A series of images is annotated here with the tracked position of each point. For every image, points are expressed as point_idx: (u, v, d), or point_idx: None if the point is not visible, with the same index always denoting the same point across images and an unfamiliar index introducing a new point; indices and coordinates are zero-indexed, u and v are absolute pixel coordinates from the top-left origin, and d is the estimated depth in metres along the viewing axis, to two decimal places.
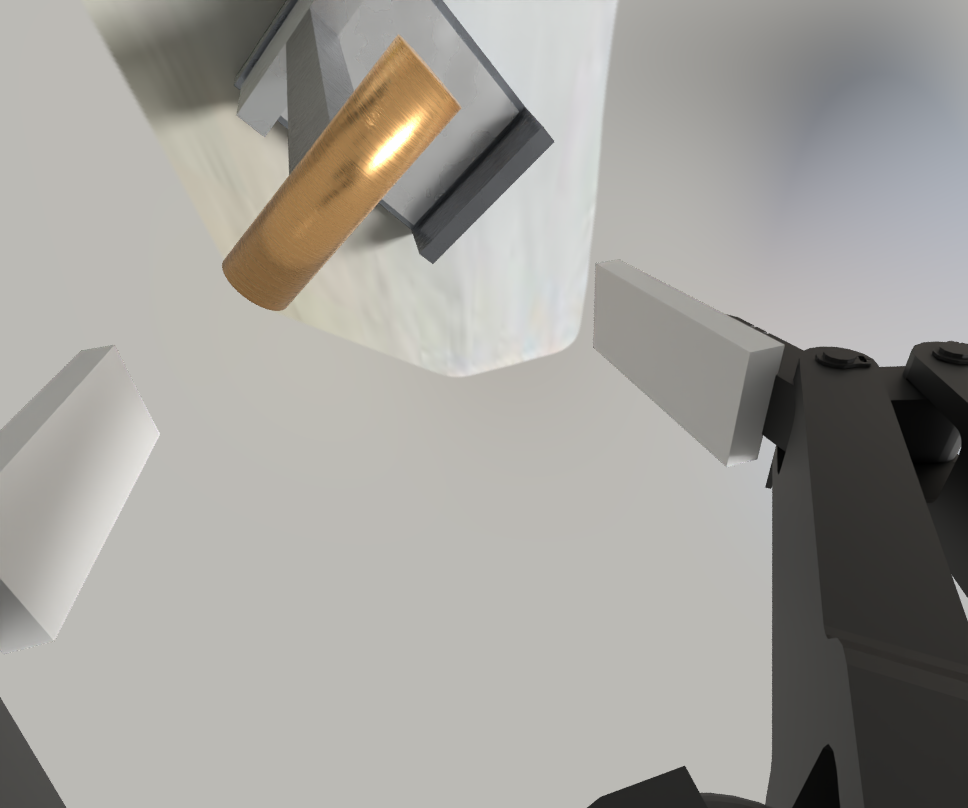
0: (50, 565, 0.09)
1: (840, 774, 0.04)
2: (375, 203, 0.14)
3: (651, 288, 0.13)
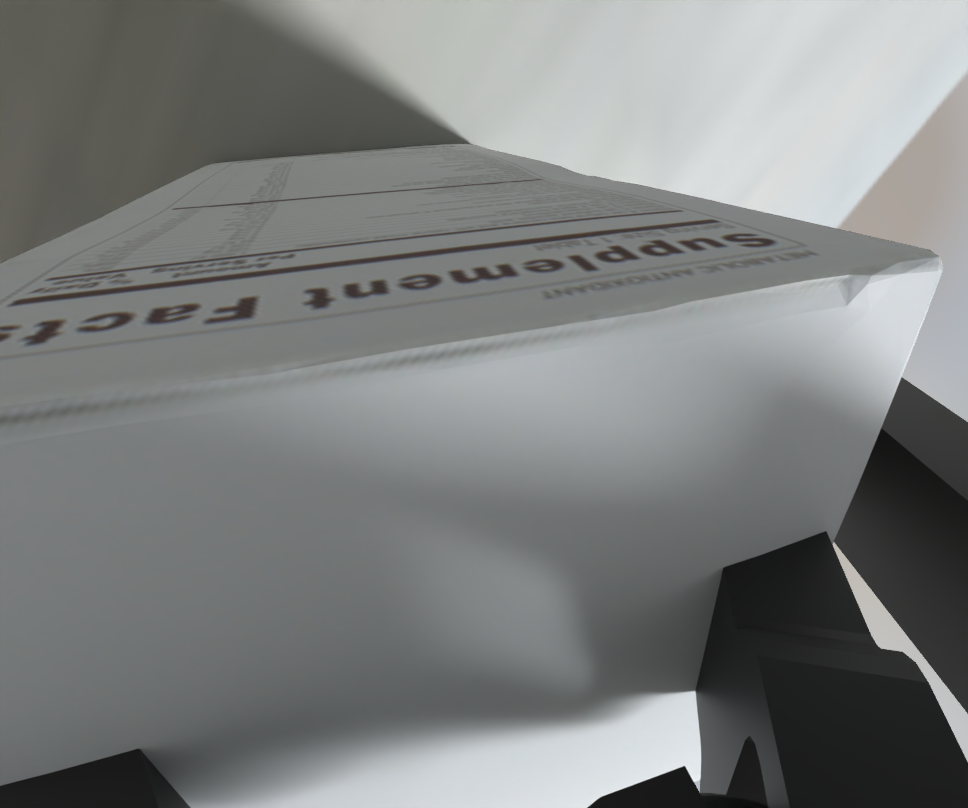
0: None
1: (764, 769, 0.04)
2: None
3: None
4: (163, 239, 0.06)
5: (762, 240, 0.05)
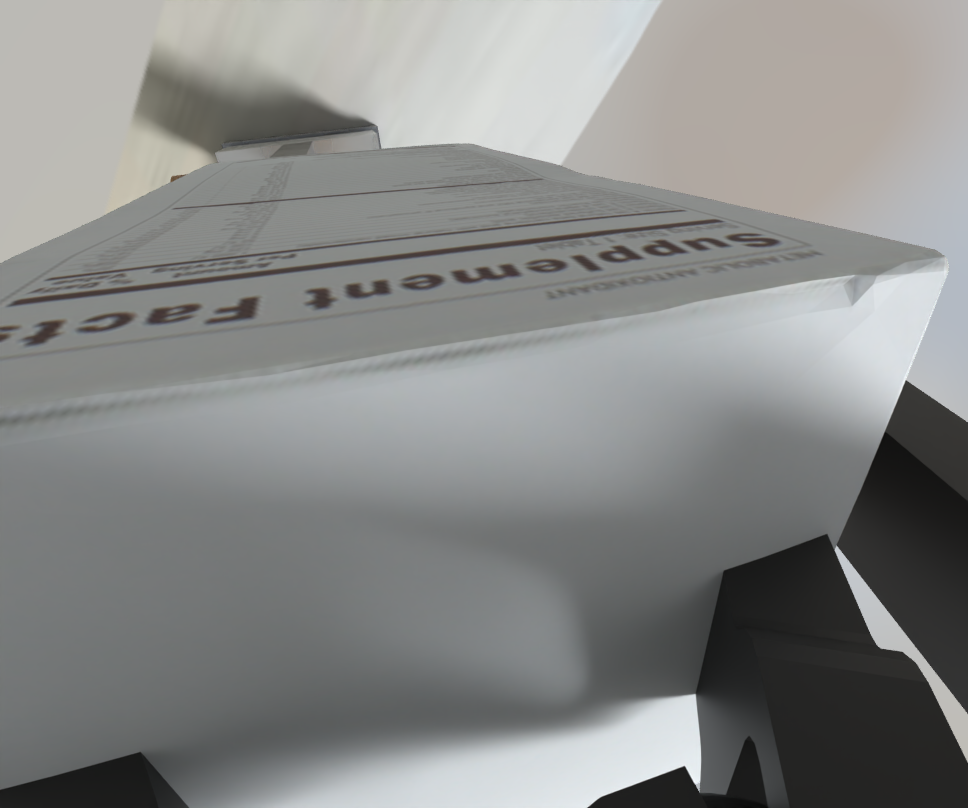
0: None
1: (764, 769, 0.04)
2: None
3: None
4: (163, 239, 0.06)
5: (766, 240, 0.05)
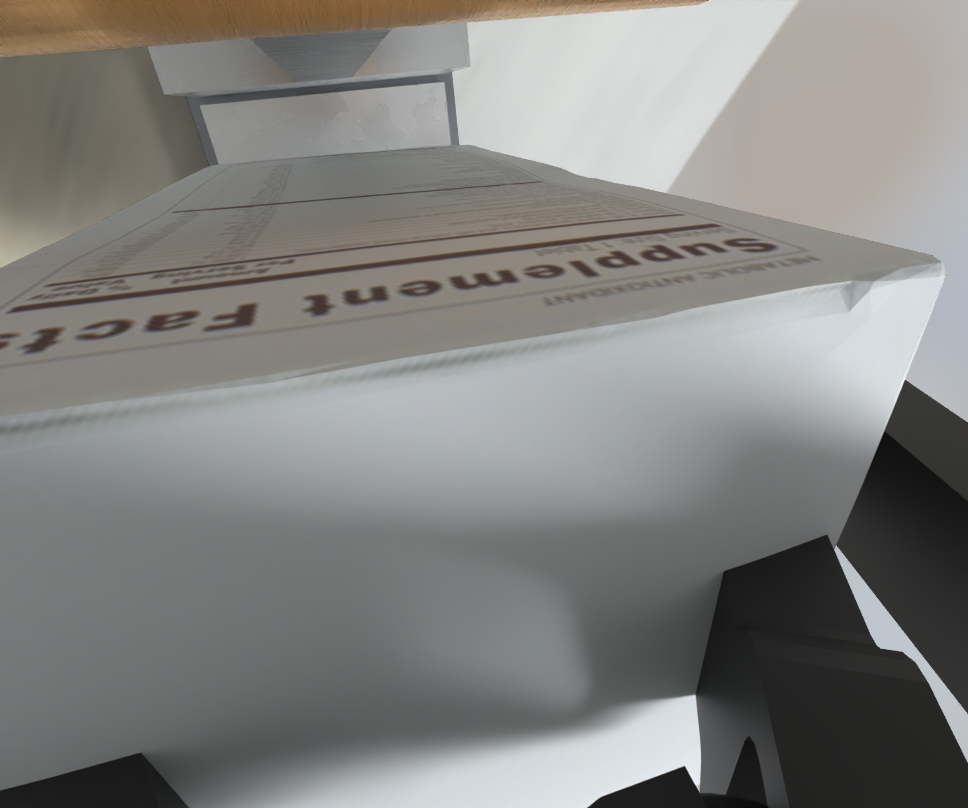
0: None
1: (764, 768, 0.04)
2: None
3: None
4: (163, 243, 0.06)
5: (764, 245, 0.05)
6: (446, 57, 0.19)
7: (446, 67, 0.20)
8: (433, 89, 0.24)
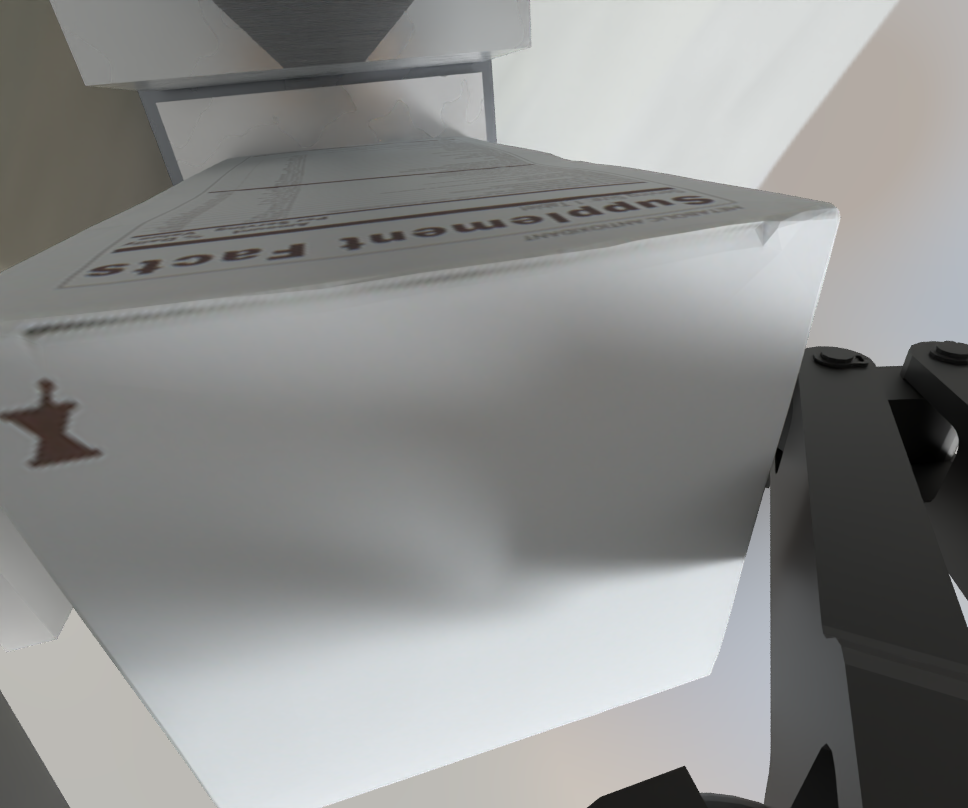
0: None
1: (839, 774, 0.04)
2: None
3: None
4: (213, 211, 0.08)
5: (703, 200, 0.06)
6: (499, 33, 0.14)
7: (498, 48, 0.14)
8: (467, 82, 0.19)
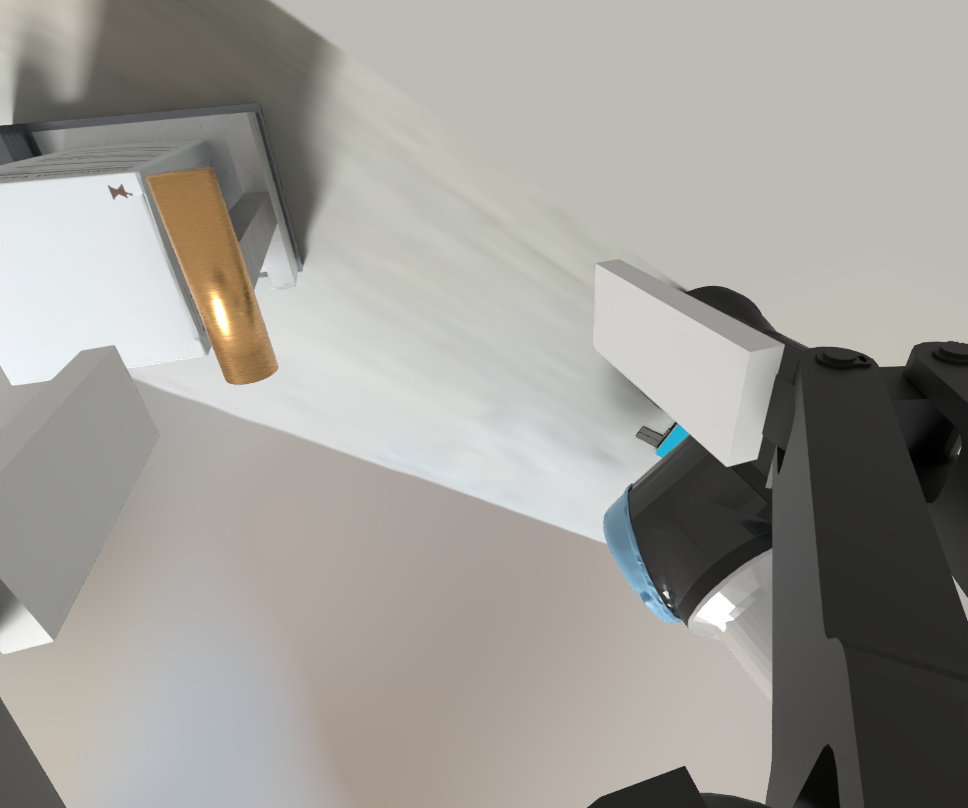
0: (50, 565, 0.09)
1: (840, 774, 0.04)
2: (198, 306, 0.20)
3: (651, 288, 0.13)
4: None
5: (204, 329, 0.27)
6: (274, 277, 0.36)
7: (269, 277, 0.36)
8: None
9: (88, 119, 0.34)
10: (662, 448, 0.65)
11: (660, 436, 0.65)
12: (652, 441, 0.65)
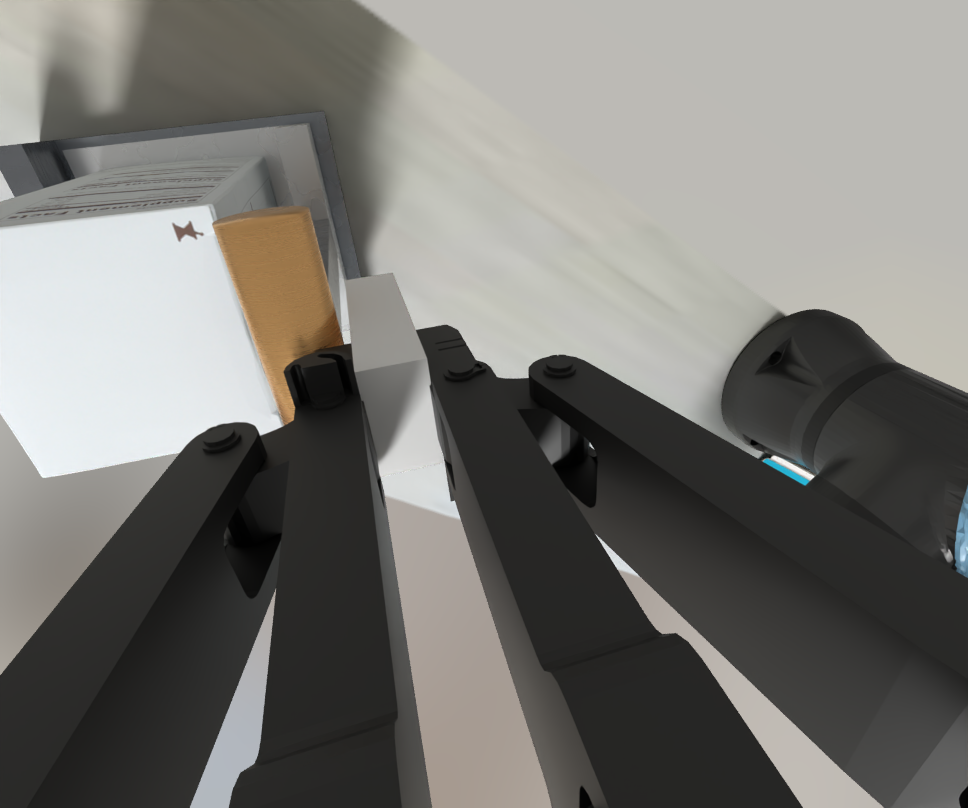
0: None
1: None
2: (280, 403, 0.14)
3: (385, 302, 0.14)
4: None
5: None
6: None
7: None
8: None
9: (128, 134, 0.28)
10: None
11: None
12: None
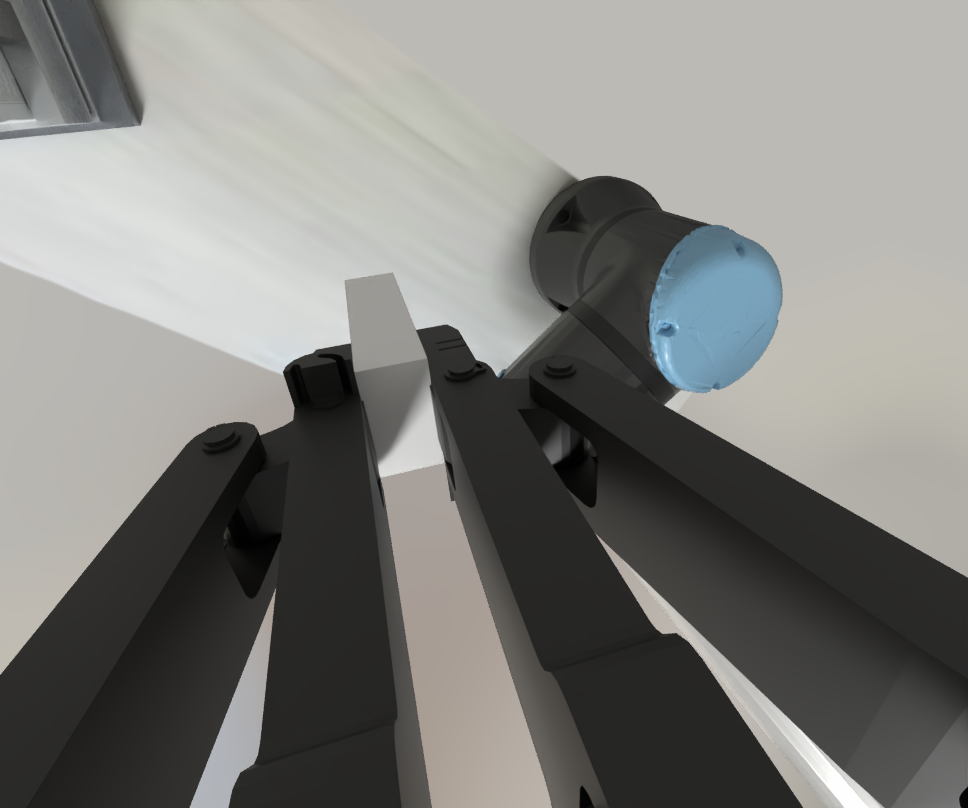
0: None
1: None
2: None
3: (385, 302, 0.14)
4: None
5: None
6: (37, 110, 0.34)
7: (31, 110, 0.34)
8: (93, 113, 0.39)
9: None
10: None
11: None
12: None
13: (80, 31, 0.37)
